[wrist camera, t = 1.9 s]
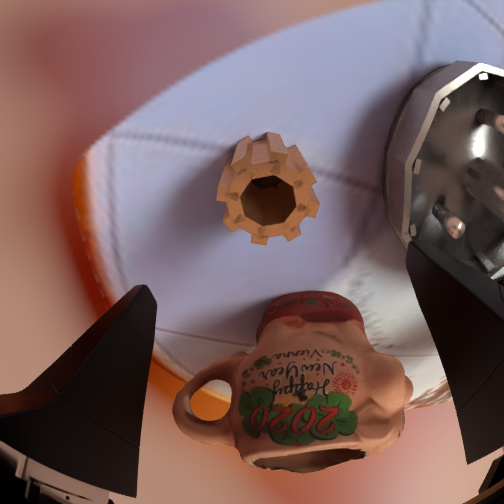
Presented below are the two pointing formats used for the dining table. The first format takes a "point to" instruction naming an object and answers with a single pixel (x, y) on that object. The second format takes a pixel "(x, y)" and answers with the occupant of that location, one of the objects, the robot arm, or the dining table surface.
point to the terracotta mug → (304, 390)
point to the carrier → (450, 164)
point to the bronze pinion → (267, 189)
